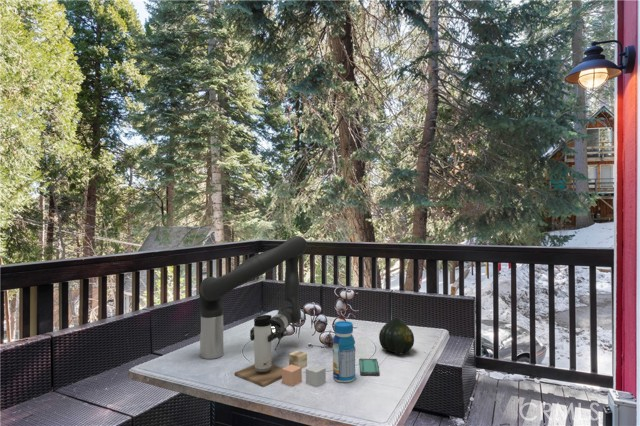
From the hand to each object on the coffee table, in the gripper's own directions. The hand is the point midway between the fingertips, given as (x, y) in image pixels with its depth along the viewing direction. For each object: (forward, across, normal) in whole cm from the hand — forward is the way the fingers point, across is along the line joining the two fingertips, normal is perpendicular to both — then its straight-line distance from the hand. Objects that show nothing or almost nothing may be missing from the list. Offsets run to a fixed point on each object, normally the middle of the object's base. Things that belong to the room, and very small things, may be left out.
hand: (260, 338), depth 141 cm
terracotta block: (+2, +13, +14) cm, 19 cm away
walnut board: (-2, 0, +14) cm, 14 cm away
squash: (-37, +47, +15) cm, 62 cm away
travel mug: (-2, 0, +12) cm, 13 cm away
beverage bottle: (-6, +30, +14) cm, 34 cm away
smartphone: (-17, +38, +15) cm, 44 cm away
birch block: (-13, +10, +14) cm, 22 cm away
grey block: (0, +21, +14) cm, 25 cm away
